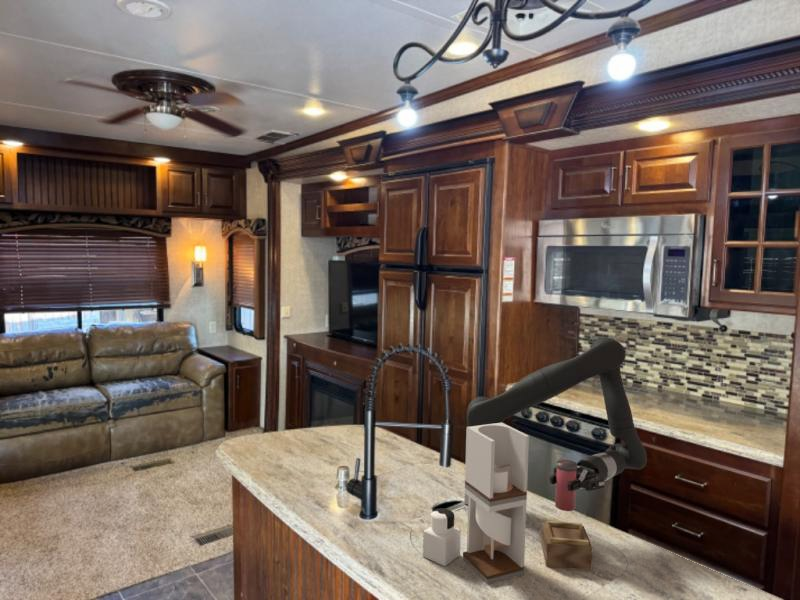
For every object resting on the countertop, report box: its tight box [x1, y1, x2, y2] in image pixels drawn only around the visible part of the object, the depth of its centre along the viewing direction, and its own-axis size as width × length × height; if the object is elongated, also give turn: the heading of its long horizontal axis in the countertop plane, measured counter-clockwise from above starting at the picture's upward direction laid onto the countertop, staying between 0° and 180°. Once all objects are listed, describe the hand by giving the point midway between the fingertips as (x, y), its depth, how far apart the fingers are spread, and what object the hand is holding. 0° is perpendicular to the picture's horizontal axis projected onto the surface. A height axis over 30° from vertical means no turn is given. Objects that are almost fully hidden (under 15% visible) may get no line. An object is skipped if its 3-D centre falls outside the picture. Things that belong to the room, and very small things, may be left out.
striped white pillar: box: [462, 422, 530, 585], centre depth 138 cm, size 11×11×35 cm
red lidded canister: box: [554, 458, 578, 512], centre depth 147 cm, size 5×5×12 cm
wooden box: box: [540, 520, 593, 571], centre depth 145 cm, size 11×11×7 cm
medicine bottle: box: [422, 507, 462, 567], centre depth 144 cm, size 7×7×12 cm
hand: (560, 483), depth 145 cm, fingers closed on red lidded canister, 5 cm apart
